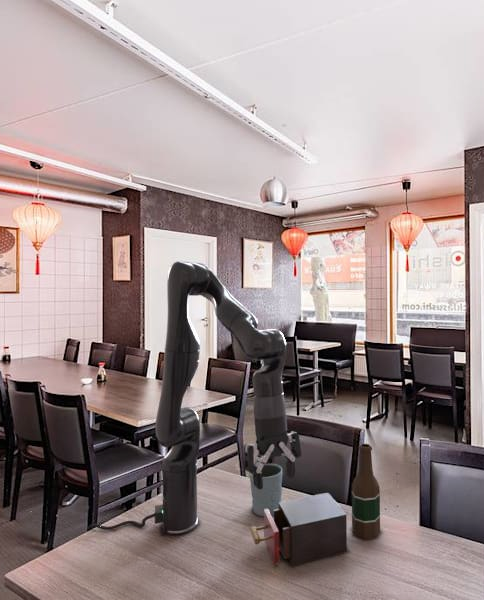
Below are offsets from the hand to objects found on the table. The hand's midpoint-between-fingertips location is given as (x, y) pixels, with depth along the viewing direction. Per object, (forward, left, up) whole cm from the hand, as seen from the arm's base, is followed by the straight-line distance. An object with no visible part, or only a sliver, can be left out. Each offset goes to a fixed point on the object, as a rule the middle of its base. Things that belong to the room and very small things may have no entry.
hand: (275, 482), depth 97 cm
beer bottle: (+28, +7, -22) cm, 36 cm away
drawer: (+5, +7, -21) cm, 22 cm away
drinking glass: (+5, +29, -22) cm, 37 cm away
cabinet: (+12, +7, -22) cm, 26 cm away
